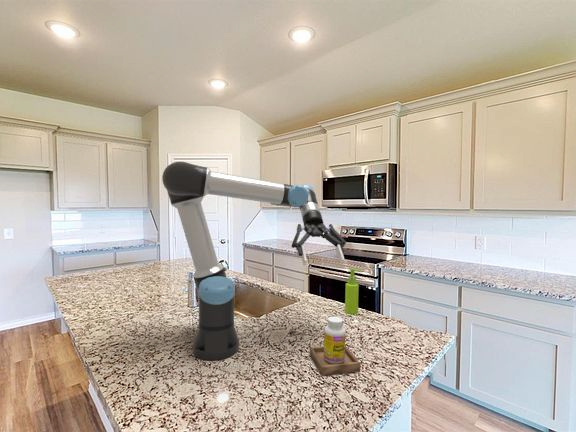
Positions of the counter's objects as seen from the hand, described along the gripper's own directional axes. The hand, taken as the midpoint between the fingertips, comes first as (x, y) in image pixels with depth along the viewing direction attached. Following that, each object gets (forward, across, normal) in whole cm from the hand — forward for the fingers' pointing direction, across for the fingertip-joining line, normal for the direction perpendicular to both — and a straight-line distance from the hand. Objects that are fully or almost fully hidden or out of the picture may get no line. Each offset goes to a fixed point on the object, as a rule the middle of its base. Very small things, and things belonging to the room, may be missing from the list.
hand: (324, 262), depth 102 cm
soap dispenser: (+1, -25, -41) cm, 48 cm away
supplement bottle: (+28, 0, -13) cm, 31 cm away
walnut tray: (+28, 0, -13) cm, 31 cm away
